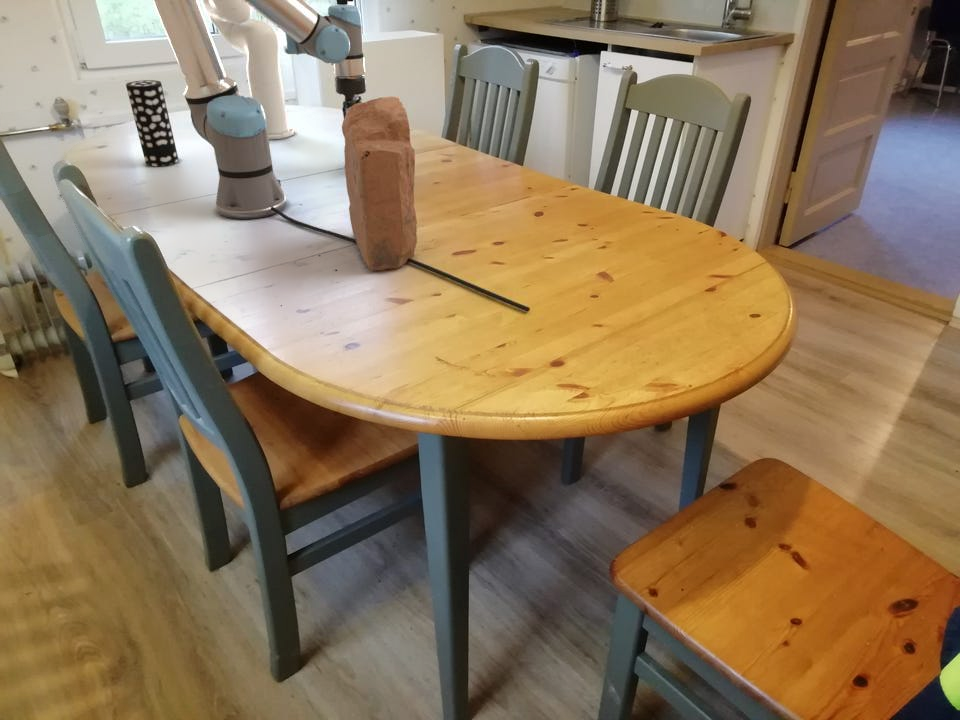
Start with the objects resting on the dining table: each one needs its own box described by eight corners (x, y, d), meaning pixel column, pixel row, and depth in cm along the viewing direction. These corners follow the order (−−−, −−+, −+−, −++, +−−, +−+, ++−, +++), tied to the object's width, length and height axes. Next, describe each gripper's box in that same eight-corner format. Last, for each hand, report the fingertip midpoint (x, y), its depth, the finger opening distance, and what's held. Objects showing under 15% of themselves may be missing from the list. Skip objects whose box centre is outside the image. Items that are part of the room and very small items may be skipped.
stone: (428, 267, 131) (421, 113, 117) (369, 275, 128) (354, 118, 114) (402, 230, 149) (394, 92, 134) (350, 236, 146) (336, 96, 131)
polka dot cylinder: (184, 157, 190) (167, 80, 179) (169, 166, 183) (151, 87, 172) (155, 156, 190) (136, 79, 179) (139, 165, 183) (119, 86, 172)
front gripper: (341, 68, 177) (350, 158, 190) (326, 83, 162) (336, 180, 174) (370, 69, 177) (377, 158, 190) (358, 83, 162) (366, 180, 174)
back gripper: (333, -64, 209) (338, 0, 218) (320, -62, 195) (327, 5, 204) (357, -63, 209) (362, 0, 218) (347, -62, 195) (352, 6, 204)
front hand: (357, 168), depth 182 cm, fingers open, 6 cm apart
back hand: (345, 2), depth 211 cm, fingers open, 9 cm apart
